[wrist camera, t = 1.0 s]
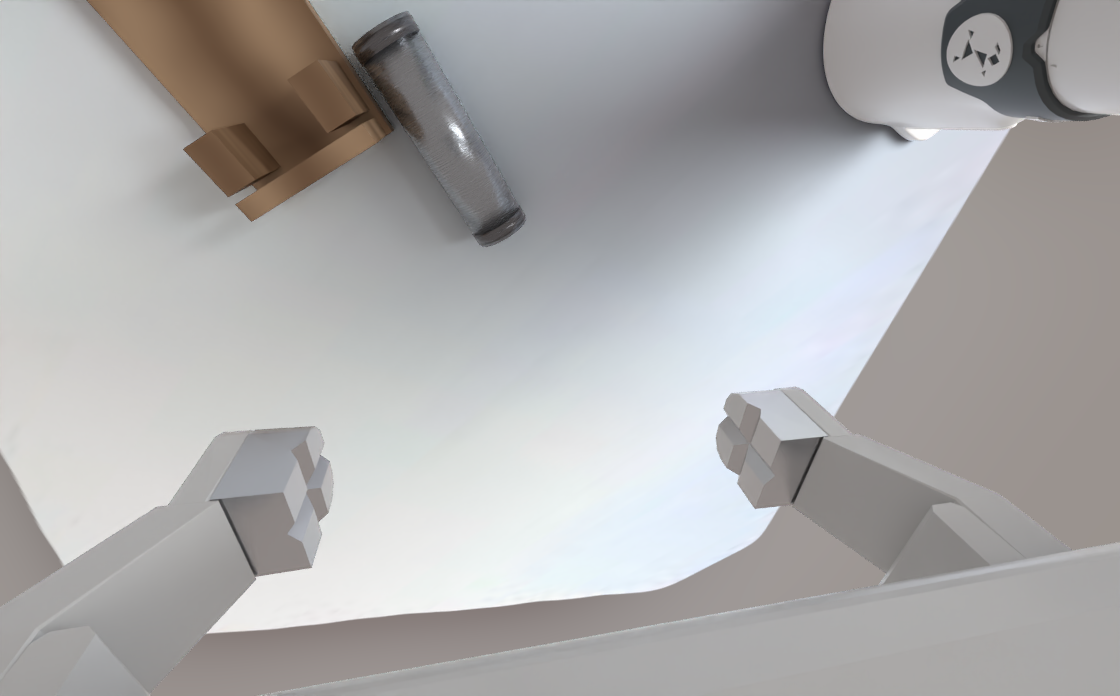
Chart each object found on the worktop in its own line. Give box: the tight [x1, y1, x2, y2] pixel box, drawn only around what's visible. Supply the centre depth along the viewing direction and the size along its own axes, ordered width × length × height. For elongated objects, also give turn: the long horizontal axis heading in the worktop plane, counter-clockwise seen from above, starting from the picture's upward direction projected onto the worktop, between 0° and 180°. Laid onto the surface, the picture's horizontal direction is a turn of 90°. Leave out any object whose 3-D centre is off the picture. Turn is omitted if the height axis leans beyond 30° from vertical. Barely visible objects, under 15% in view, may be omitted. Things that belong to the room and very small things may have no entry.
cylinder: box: [352, 11, 526, 247], centre depth 31 cm, size 4×14×4 cm, turn 28°
